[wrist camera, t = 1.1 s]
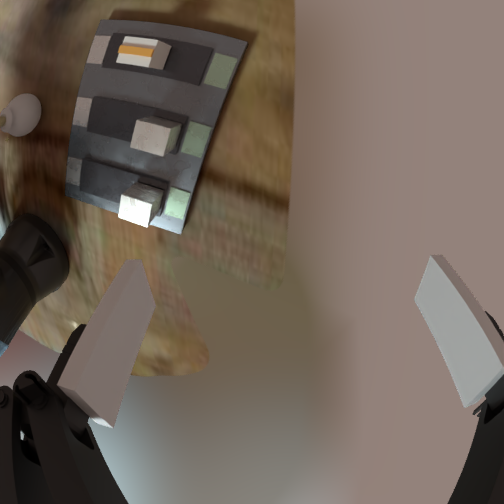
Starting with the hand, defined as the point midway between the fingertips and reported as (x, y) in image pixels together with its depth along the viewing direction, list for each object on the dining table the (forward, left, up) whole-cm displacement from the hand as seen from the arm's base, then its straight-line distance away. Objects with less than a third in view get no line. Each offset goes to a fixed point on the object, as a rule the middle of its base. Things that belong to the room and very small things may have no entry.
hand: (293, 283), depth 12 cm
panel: (-16, 0, -22) cm, 27 cm away
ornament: (-34, -2, -22) cm, 41 cm away
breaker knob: (-16, +8, -19) cm, 27 cm away
